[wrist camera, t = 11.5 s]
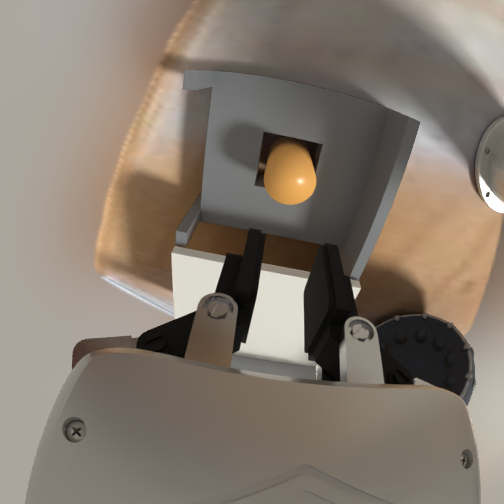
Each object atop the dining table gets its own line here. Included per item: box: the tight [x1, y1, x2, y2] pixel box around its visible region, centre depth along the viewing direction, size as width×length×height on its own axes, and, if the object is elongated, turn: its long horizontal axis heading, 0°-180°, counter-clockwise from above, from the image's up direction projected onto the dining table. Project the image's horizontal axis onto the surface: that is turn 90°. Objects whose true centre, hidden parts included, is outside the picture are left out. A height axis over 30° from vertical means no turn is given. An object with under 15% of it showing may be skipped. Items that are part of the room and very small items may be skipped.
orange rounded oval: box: [264, 137, 316, 205], centre depth 24 cm, size 4×4×7 cm
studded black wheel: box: [375, 313, 476, 406], centre depth 31 cm, size 11×20×20 cm, turn 114°
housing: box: [176, 70, 420, 281], centre depth 28 cm, size 17×30×8 cm, turn 171°
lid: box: [171, 246, 361, 380], centre depth 27 cm, size 17×15×5 cm
